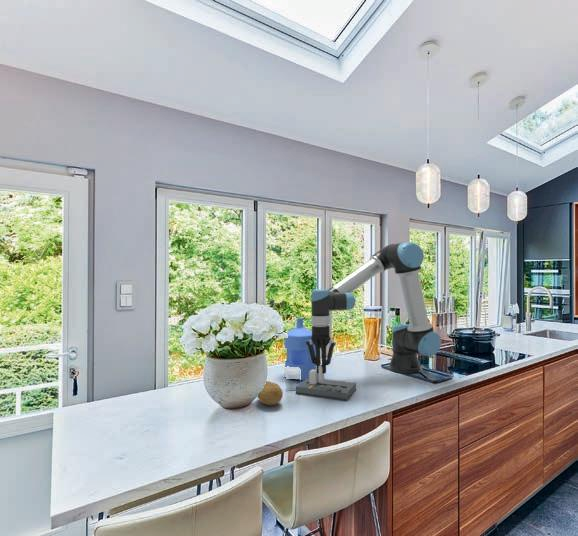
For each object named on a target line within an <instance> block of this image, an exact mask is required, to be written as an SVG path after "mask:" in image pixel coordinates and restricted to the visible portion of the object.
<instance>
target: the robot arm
mask: <svg viewBox="0 0 578 536" xmlns="http://www.w3.org/2000/svg"><path fill="white" fill-rule="evenodd" d="M422 249H423V248H421V246H420V245H418V244H417V243H415V242H409V241H408V242H406V241H405V242H400V243H392V244H387V245H386V246H384V247H383V248H381V249H380V250H378V251H377V252H376V253H374V254H373V255H371V256H370V257H369V260H368V261H366V262H365V263H363V264H362V265H361V266H359V267H358V268H357V269H355V270H354V271H352V272H351V273H349V274H348V275H347V276H346V277H344V278H343V279H341V280H340V281H339V282H337V283H336V284H334V285H333V286H332V287H330V288H316V289H315V288H314V289H312V290H311V297H310V302H311V304H310V305H311V325H312V326H311V331H312V337H311V339H310V340H309V341H307V342H306V344H307V345H308V347H309V351H310V356H311V360H312V363H313V364H315V365H316V370H317V373H319V382H323V381H324V379H325V374H326V373H327V366H329V365H330V364H331V363H332V362H331V361H332V357H333V353H334V349H335V346H336V344H337V343H336V341H333V340H331V339H332V338H331V336H330V312H333V311H350V310H352V309H354V308H355V307H356V297H355V295H354V294H353V292H354V291H356V289H358V288H360V287H361V286H362V285H364V284H365V283H366V282H368V281H369V280H370V279H372V278H374V277H375V276H376V275H377V274H379V273H380V274H381V273H384V272H385V271H387V270H389V269H393V270H394V273H395V275H397V276H398V277H399V279H400V280H399V281H400V284H401V285H400V286H401V289H402V295H403V299H404V304H405V309H406V313H407V318H408V322H409V323H408V324H406V323H405V324H394V325H393V326H392V330H391V331H392V332H391V334H392V355H391V358H390V361H389V370H390V371H392V372H395V373H400V374H417V373H416V372H418V373H420V372H421V371H422V369H421V368H422V366H421V363H420V361H419V357H418V355H420V356H422V357H423V356H424V357H433V356H435V355H436V354H437V353H439V350H440V349H441V346H442V339H441V335H440V334H439V333H437V332H435V330H434V325H433V324H432V323H431V322H430V321H429V317H428V314H427V308H426V303H425V298H424V294H423V289H422V285H421V280H420V274H419V273H420V271H421V269H422V268H421V266H422V264H423V262H424V260H425V259H424V257H425V256H424V255H425V254H424V251H423V250H422ZM313 343H314V345H315V349H316V356H315V352H314V348H313ZM328 345H329V348H328V352H327V346H328ZM420 370H421V371H420ZM419 371H420V372H419Z"/></svg>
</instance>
